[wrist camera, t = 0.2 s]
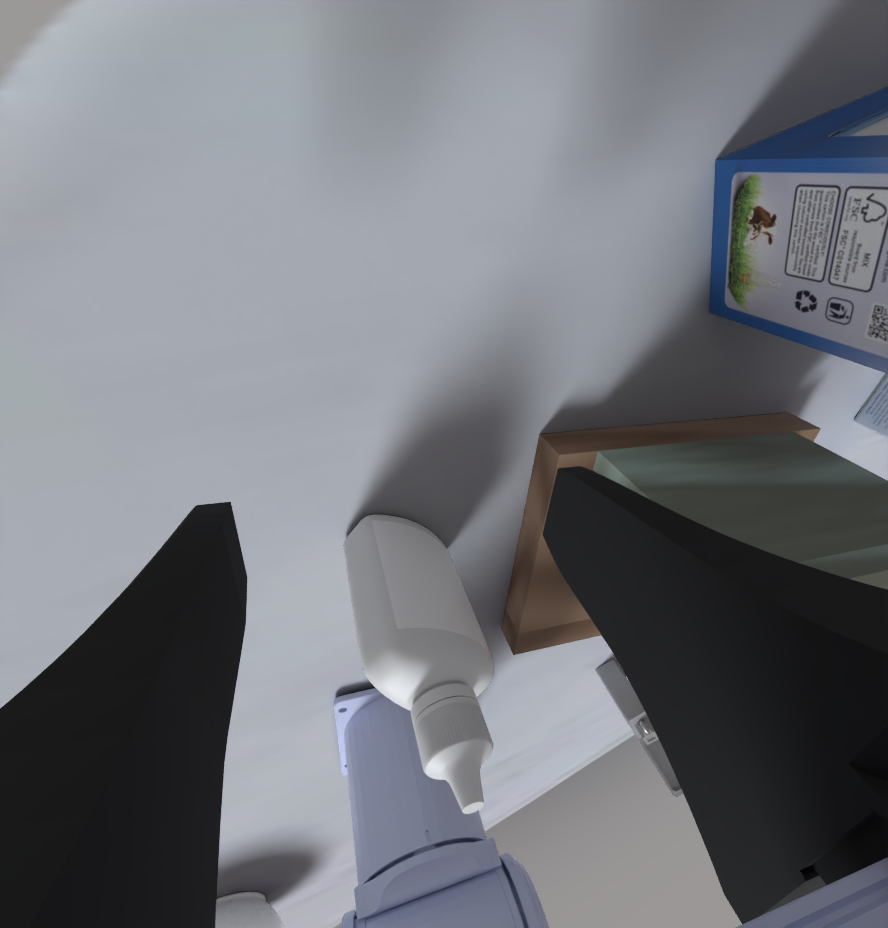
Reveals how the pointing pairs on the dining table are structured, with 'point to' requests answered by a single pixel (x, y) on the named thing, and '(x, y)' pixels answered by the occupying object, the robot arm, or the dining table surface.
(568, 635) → the socket board
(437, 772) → the eye dropper bottle
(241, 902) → the lidded jar
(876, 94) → the milk carton
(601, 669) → the lighter
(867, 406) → the medicine box
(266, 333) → the dining table surface
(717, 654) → the robot arm
